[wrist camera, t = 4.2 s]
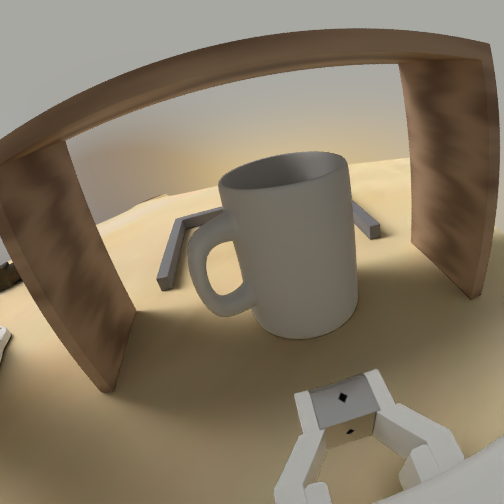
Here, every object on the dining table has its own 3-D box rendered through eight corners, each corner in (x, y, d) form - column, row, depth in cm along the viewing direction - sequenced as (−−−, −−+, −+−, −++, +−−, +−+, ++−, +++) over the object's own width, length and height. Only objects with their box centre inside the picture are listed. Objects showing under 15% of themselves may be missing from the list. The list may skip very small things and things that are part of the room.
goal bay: (380, 236, 30) (379, 223, 29) (161, 291, 30) (156, 279, 30) (330, 191, 44) (329, 181, 43) (178, 228, 44) (175, 219, 44)
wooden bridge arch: (480, 294, 19) (489, 43, 10) (101, 392, 19) (-28, 160, 11) (420, 239, 28) (406, 51, 19) (126, 312, 28) (50, 133, 19)
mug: (310, 261, 29) (291, 147, 24) (379, 297, 22) (375, 157, 17) (199, 323, 25) (150, 199, 19) (252, 388, 18) (195, 232, 13)
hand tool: (72, 252, 49) (62, 230, 47) (69, 260, 45) (58, 236, 43) (0, 288, 44) (-11, 268, 42) (-6, 298, 41) (-18, 277, 38)
